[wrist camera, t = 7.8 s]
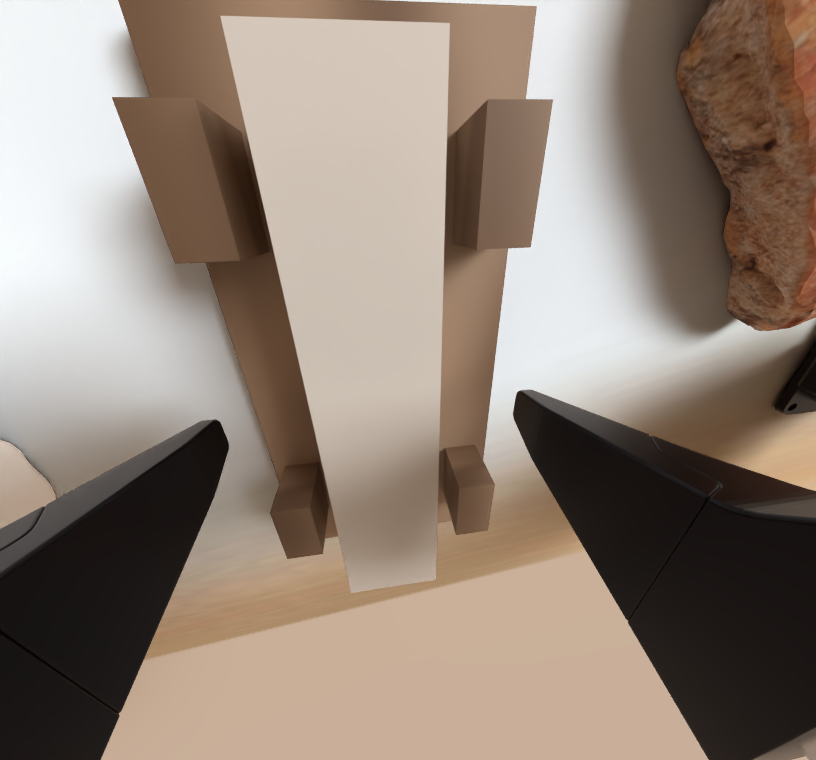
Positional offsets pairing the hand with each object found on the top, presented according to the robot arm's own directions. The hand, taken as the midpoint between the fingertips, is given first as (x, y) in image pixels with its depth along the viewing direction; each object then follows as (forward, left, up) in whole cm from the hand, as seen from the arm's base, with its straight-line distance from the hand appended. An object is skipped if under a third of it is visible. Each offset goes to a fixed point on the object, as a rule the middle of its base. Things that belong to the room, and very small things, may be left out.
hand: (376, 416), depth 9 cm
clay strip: (0, 0, -3) cm, 3 cm away
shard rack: (0, 0, -4) cm, 4 cm away
